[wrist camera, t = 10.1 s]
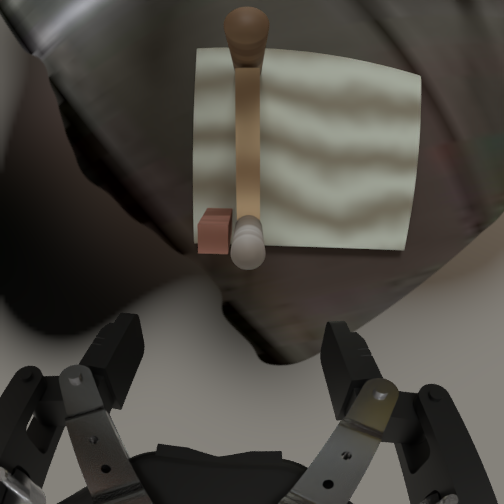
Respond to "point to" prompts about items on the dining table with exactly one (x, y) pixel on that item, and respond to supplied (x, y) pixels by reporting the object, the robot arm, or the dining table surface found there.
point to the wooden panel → (247, 171)
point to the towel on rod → (306, 144)
